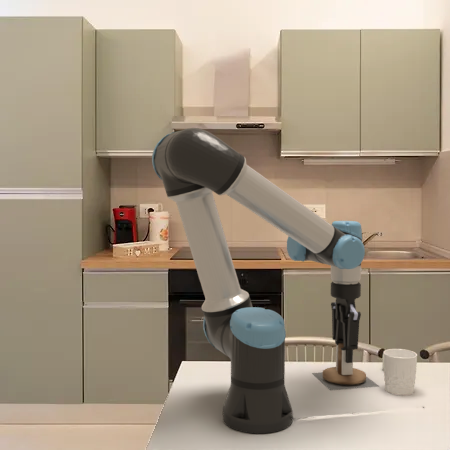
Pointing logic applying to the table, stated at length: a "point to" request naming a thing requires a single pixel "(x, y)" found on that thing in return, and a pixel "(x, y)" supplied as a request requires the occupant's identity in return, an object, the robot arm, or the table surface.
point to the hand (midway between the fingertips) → (344, 371)
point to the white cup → (399, 371)
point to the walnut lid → (337, 376)
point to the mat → (343, 386)
